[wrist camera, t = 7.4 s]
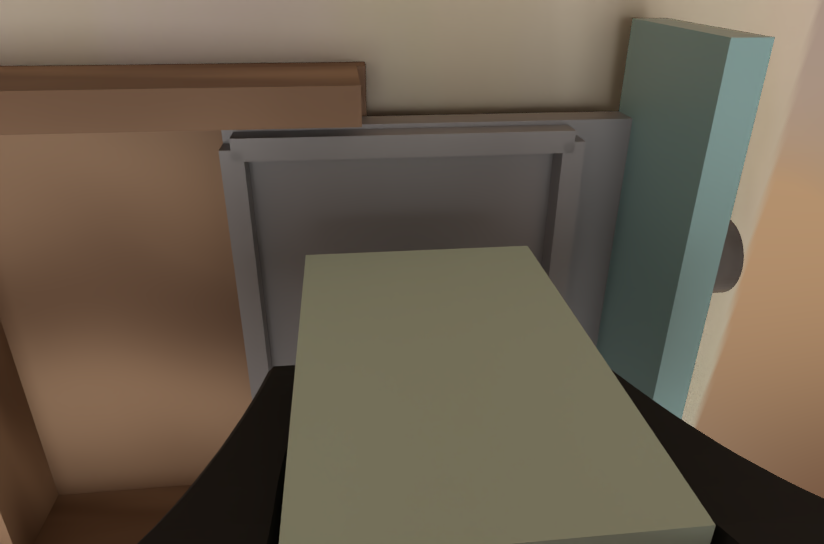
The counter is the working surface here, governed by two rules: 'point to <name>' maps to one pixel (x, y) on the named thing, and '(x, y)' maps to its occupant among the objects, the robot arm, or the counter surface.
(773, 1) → the counter surface
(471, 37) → the counter surface
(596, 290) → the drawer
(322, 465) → the block
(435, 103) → the counter surface
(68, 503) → the brown shallow rectangular box
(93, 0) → the counter surface
